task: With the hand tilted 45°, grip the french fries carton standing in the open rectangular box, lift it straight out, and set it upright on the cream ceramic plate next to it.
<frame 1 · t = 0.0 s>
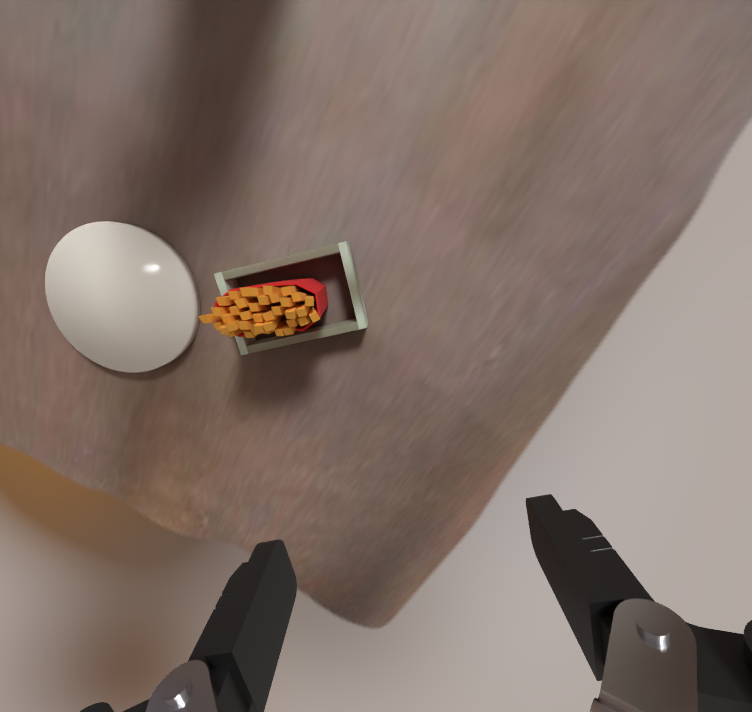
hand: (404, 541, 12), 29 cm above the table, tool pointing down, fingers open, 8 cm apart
open rectangular box: (298, 297, 39), on the table
ceramic plate: (129, 299, 40), on the table
french fries: (299, 297, 39), resting in open rectangular box
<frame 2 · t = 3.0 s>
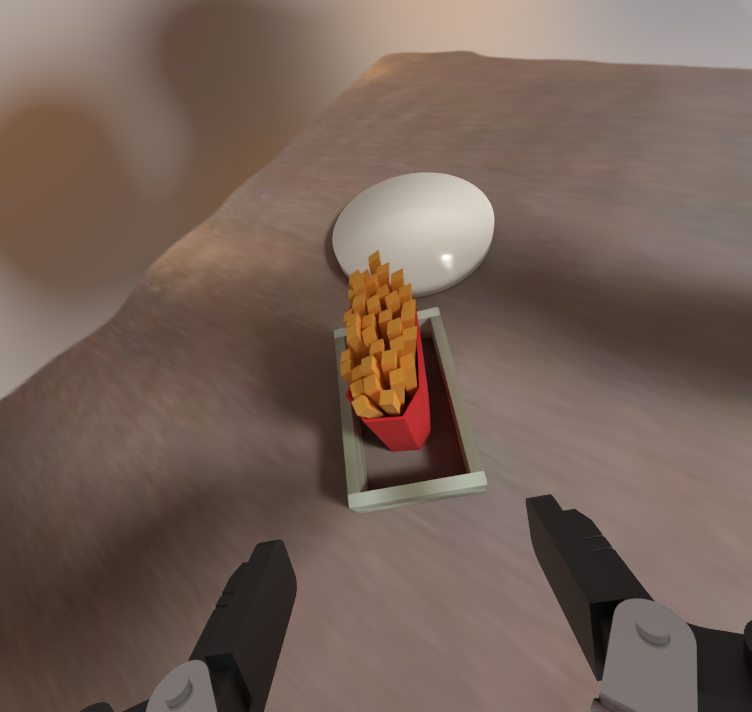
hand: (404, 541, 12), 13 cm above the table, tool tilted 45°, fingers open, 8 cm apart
open rectangular box: (404, 410, 28), on the table
ceramic plate: (411, 236, 37), on the table
french fries: (404, 411, 28), resting in open rectangular box
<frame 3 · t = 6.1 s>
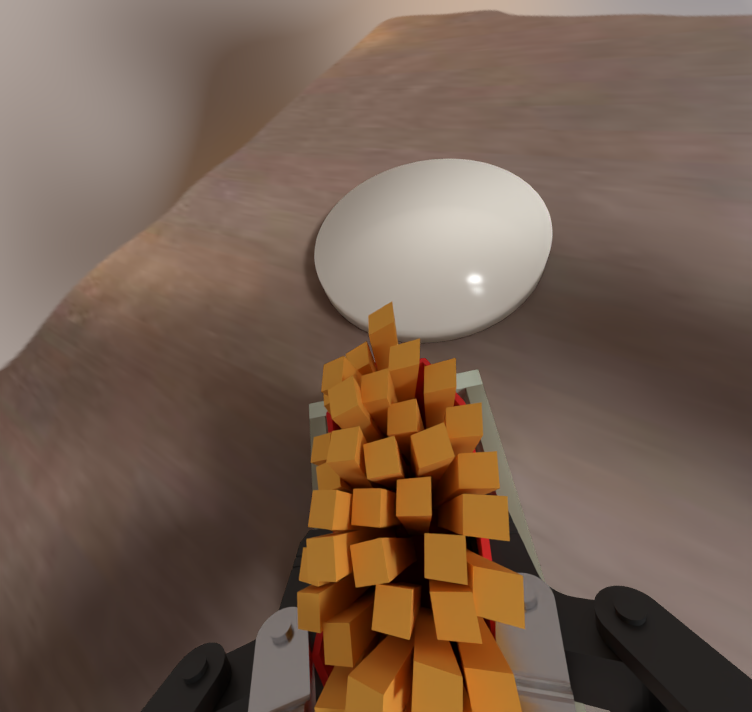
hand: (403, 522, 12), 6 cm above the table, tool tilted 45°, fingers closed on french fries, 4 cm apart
open rectangular box: (423, 541, 17), on the table
ceramic plate: (427, 248, 26), on the table
french fries: (423, 541, 17), resting in open rectangular box, touching gripper
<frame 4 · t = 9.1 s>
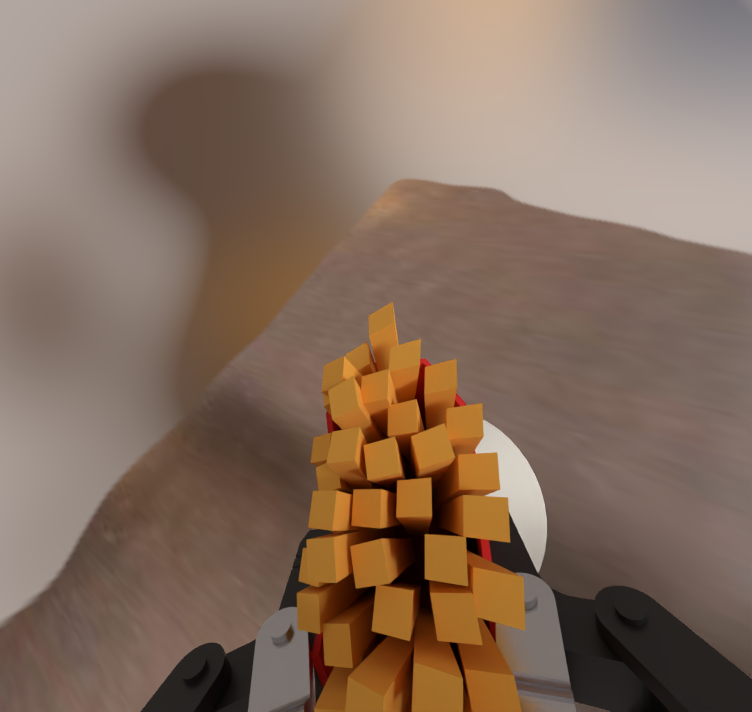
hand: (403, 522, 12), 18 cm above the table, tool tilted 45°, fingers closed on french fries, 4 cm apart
ceramic plate: (434, 507, 29), on the table
french fries: (422, 542, 17), point 12 cm above the table, touching gripper
when the fingers open (8 cm above the table, at t = 12.4 s): french fries drops 1 cm, resting on ceramic plate.
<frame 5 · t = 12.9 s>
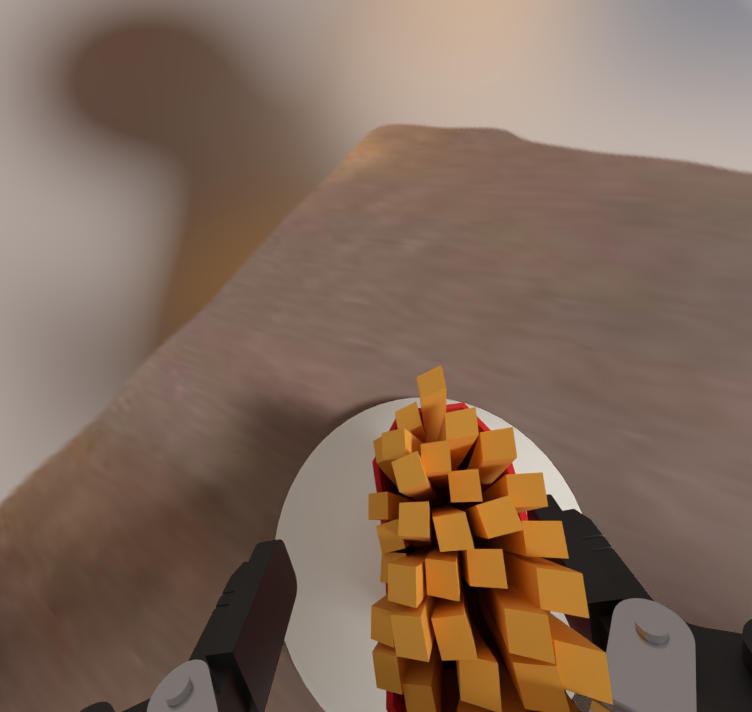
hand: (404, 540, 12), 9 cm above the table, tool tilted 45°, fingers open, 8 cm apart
ceramic plate: (423, 544, 20), on the table
french fries: (455, 560, 18), point 1 cm above the table, touching ceramic plate
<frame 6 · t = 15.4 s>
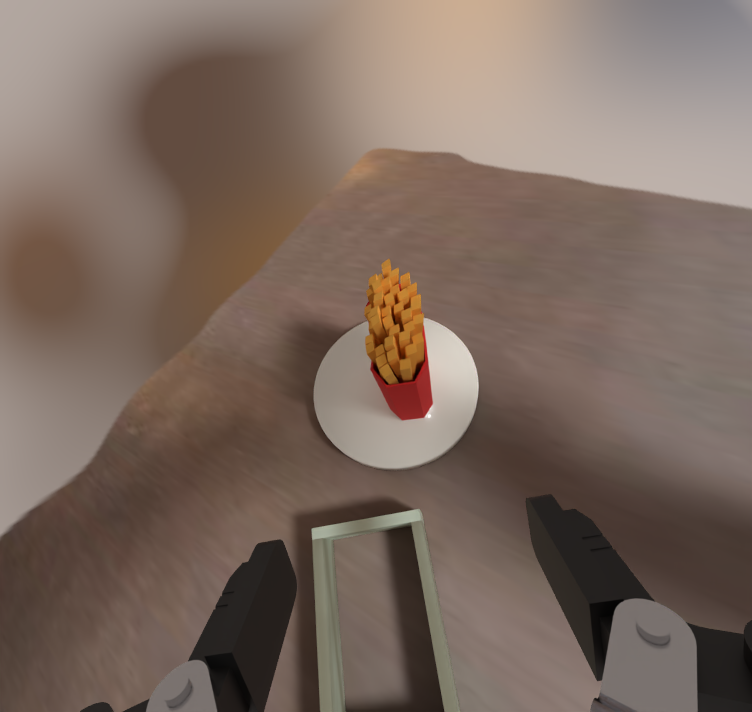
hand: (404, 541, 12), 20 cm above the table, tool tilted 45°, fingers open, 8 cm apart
open rectangular box: (384, 620, 27), on the table
ceramic plate: (394, 388, 36), on the table
french fries: (409, 388, 34), point 1 cm above the table, touching ceramic plate
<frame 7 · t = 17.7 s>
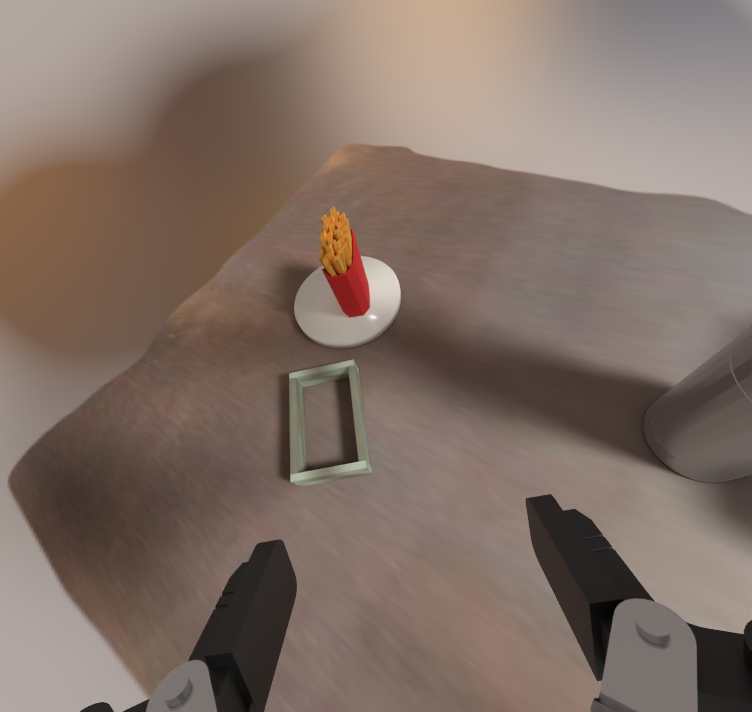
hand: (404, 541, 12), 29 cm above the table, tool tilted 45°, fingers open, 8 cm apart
open rectangular box: (331, 424, 45), on the table
ceramic plate: (348, 302, 54), on the table
french fries: (356, 300, 52), point 1 cm above the table, touching ceramic plate
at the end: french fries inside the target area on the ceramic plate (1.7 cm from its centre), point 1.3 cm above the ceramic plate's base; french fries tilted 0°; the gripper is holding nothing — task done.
